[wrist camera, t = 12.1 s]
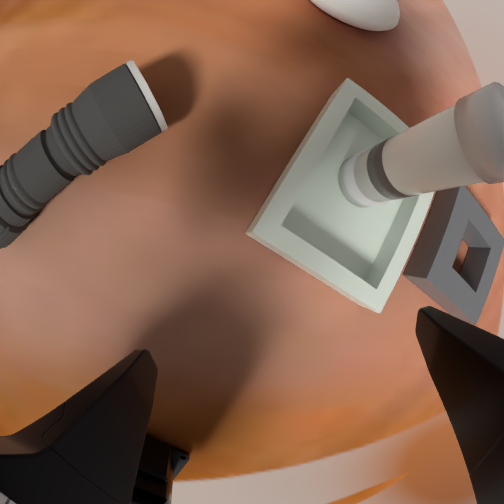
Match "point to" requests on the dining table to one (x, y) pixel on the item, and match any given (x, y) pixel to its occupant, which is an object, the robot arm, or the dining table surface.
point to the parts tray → (341, 205)
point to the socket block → (445, 250)
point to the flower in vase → (363, 12)
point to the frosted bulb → (432, 153)
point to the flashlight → (77, 144)
